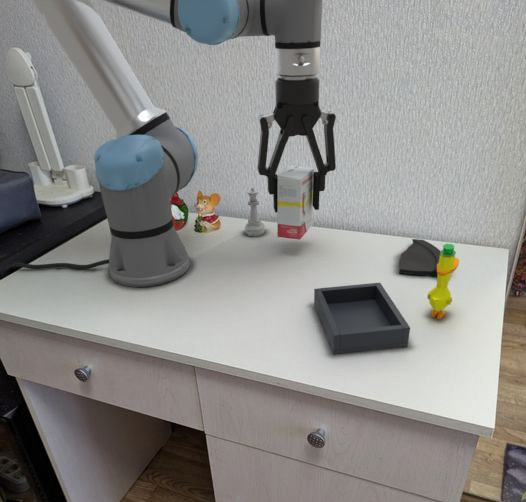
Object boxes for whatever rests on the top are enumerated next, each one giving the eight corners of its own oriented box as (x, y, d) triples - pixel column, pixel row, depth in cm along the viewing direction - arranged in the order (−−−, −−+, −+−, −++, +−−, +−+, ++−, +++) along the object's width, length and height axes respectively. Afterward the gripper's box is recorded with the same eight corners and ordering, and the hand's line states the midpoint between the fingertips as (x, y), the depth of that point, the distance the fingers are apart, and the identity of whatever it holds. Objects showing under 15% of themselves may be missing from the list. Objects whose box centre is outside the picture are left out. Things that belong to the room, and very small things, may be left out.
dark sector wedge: (445, 248, 98) (446, 240, 97) (445, 278, 88) (446, 270, 87) (402, 244, 100) (403, 237, 99) (397, 274, 90) (398, 266, 89)
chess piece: (248, 228, 112) (245, 183, 106) (267, 229, 110) (265, 184, 105) (242, 235, 108) (239, 190, 102) (261, 237, 107) (259, 191, 101)
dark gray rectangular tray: (333, 354, 71) (333, 335, 69) (313, 306, 82) (314, 288, 80) (407, 346, 71) (410, 327, 69) (378, 299, 83) (380, 282, 81)
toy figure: (435, 302, 81) (448, 233, 74) (457, 308, 79) (472, 238, 72) (419, 320, 77) (430, 249, 70) (441, 327, 75) (455, 254, 68)
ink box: (300, 240, 95) (301, 178, 89) (276, 237, 97) (275, 176, 90) (313, 225, 102) (315, 166, 95) (291, 223, 104) (291, 164, 97)
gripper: (240, 82, 80) (247, 219, 93) (361, 76, 81) (350, 212, 95) (237, 76, 86) (243, 205, 99) (349, 71, 87) (341, 199, 101)
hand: (296, 208), depth 97 cm, fingers open, 7 cm apart
